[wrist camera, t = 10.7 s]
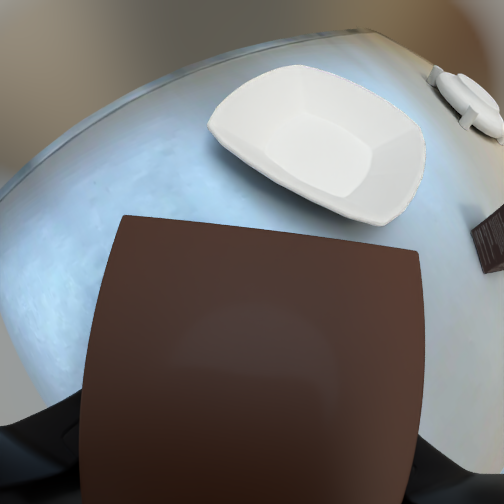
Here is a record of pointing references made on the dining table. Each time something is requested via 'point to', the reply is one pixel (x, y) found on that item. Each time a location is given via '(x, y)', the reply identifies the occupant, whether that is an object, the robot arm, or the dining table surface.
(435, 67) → the round stand with pegs
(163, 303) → the chocolate carton
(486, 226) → the box
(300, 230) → the dining table surface
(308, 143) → the bowl
